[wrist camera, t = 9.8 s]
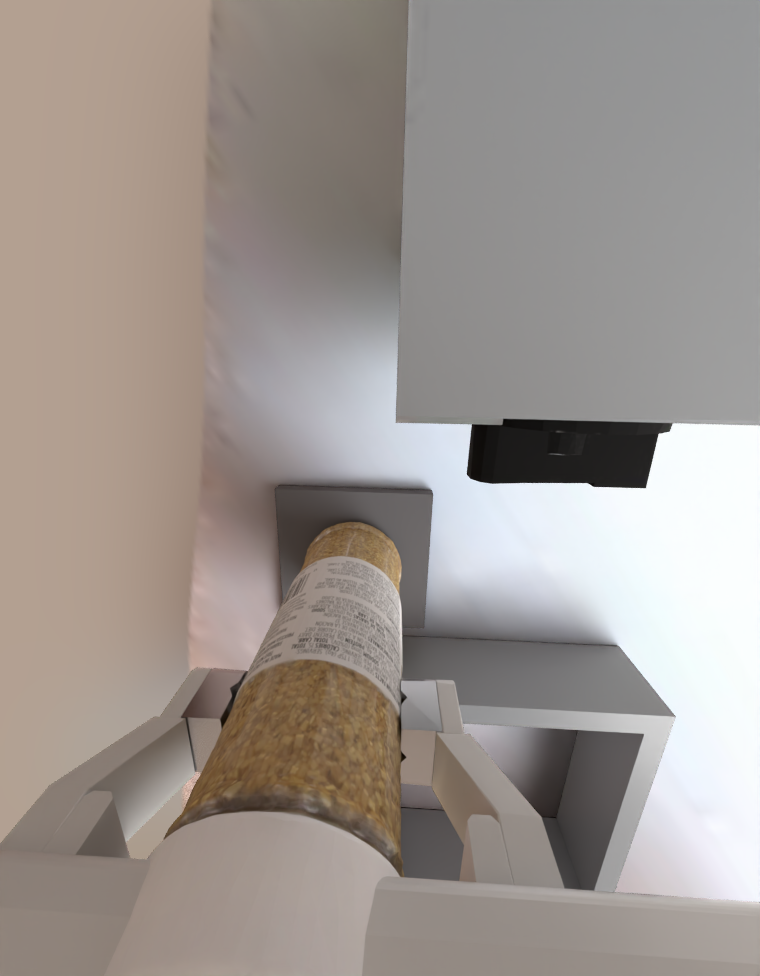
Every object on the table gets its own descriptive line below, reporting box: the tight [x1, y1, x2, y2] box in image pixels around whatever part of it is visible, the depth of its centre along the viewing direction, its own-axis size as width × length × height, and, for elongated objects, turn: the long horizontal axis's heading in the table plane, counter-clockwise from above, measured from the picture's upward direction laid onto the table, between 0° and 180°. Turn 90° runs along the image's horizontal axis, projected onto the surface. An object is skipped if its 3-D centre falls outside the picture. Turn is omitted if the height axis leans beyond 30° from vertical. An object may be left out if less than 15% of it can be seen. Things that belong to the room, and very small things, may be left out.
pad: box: [275, 485, 433, 628], centre depth 18 cm, size 7×7×1 cm
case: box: [401, 636, 675, 892], centre depth 14 cm, size 15×13×16 cm
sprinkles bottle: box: [104, 522, 404, 976], centre depth 11 cm, size 5×5×14 cm
